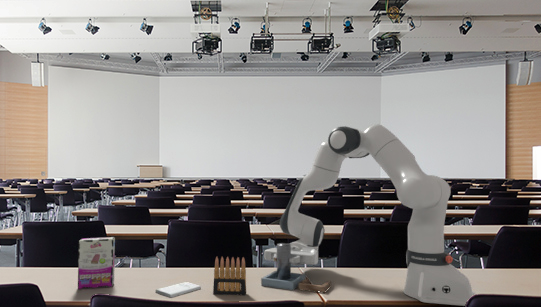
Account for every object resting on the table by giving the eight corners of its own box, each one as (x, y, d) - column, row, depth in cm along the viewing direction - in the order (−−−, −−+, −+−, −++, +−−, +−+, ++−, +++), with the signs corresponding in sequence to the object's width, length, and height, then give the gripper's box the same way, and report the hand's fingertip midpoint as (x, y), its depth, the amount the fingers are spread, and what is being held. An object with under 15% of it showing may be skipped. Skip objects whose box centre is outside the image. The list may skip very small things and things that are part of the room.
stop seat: (330, 287, 133) (330, 281, 133) (324, 293, 126) (324, 287, 126) (306, 283, 136) (306, 278, 136) (298, 289, 130) (298, 283, 130)
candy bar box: (114, 283, 136) (115, 236, 137) (112, 287, 131) (113, 238, 132) (80, 285, 133) (81, 237, 134) (76, 289, 128) (78, 240, 129)
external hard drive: (155, 294, 126) (185, 285, 135) (170, 299, 120) (201, 290, 130) (155, 289, 126) (185, 281, 135) (170, 294, 120) (201, 285, 130)
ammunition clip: (246, 293, 125) (246, 256, 126) (245, 295, 123) (245, 257, 124) (214, 292, 126) (214, 255, 126) (212, 294, 124) (213, 257, 125)
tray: (305, 281, 140) (305, 274, 140) (293, 290, 129) (293, 282, 129) (275, 277, 145) (275, 270, 145) (261, 285, 134) (261, 278, 134)
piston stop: (292, 277, 138) (292, 243, 139) (287, 280, 134) (287, 246, 134) (280, 275, 140) (280, 242, 141) (274, 278, 136) (274, 244, 137)
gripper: (272, 242, 154) (257, 248, 141) (321, 247, 145) (309, 253, 132) (272, 258, 153) (256, 266, 141) (321, 264, 145) (309, 272, 132)
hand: (282, 260), depth 137 cm, fingers closed on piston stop, 5 cm apart
